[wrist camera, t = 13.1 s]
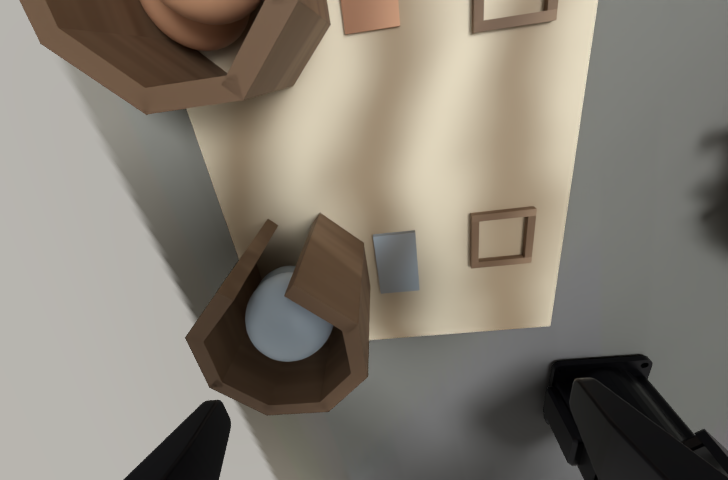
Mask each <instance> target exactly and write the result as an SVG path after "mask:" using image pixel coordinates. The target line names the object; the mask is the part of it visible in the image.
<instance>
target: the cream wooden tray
mask: <svg viewBox="0 0 728 480" xmlns="http://www.w3.org/2000/svg"><path fill="white" fill-rule="evenodd" d="M20 2H21V4H22V6H23V8H24V10H25V12H26V15H27V16H28V19H29V21H30V23H31V25H32V27H33V29H34V31H35V33H36V35H37V37H38V39H39V41H40V44H42V45H43V46H45V47H46V48H48V49H49V50H51V51H52V52H54V53H55V54H57V55H58V56H60V57H61V58H63V59H64V60H66V61H67V62H69V63H70V64H72V65H73V66H75V67H76V68H78V69H79V70H81V71H82V72H84V73H85V74H87V75H88V76H90V77H91V78H92V79H94V80H95V81H97V82H98V83H100V84H101V85H103V86H104V87H106V88H107V89H109V90H110V91H112V92H113V93H115V94H116V95H118V96H119V97H121V98H122V99H124V100H125V101H127V102H128V103H130V104H131V105H133V106H134V107H136V108H137V109H139V110H140V111H142V112H143V113H145V114H146V115H148V114H152V113H159V112H166V111H173V110H180V109H187V112H188V115H189V117H190V120H191V123H192V126H193V129H194V132H195V135H196V138H197V140H198V143H199V146H200V149H201V152H202V155H203V158H204V161H205V163H206V166H207V169H208V172H209V175H210V178H211V181H212V183H213V186H214V189H215V192H216V195H217V198H218V201H219V204H220V206H221V209H222V212H223V215H224V218H225V221H226V224H227V227H228V229H229V232H230V235H231V238H232V241H233V244H234V247H235V249H236V252H237V255H238V258H239V261H238V262H237V263H236V265H235V266H234V268H233V269H232V271H231V272H230V274H229V275H228V276H227V278H226V279H225V281H224V282H223V284H222V285H221V287H220V288H219V289H218V291H217V292H216V294H215V295H214V297H213V298H212V300H211V301H210V302H209V304H208V305H207V307H206V308H205V310H204V311H203V313H202V314H201V315H200V317H199V318H198V320H197V321H196V323H195V324H194V326H193V327H192V328H191V330H190V332H189V333H188V334H187V336H186V337H185V339H186V341H187V342H188V345H189V347H190V349H191V351H192V353H193V355H194V357H195V359H196V361H197V363H198V365H199V367H200V369H201V371H202V373H203V375H204V377H205V379H206V381H207V383H208V385H209V388H211V389H213V390H216V391H218V392H220V393H222V394H224V395H226V396H228V397H230V398H232V399H234V400H236V401H238V402H240V403H242V404H244V405H246V406H249V407H251V408H253V409H255V410H257V411H259V412H261V413H263V414H265V415H281V414H298V413H315V412H329V411H330V410H331V409H332V408H333V407H335V406H336V405H337V404H338V403H339V402H340V401H341V400H342V399H344V398H345V397H346V396H347V395H348V394H349V393H350V392H351V391H353V390H354V389H355V388H356V387H357V386H358V385H359V384H360V383H362V382H363V381H364V380H365V379H366V378H367V377H368V358H369V340H376V339H389V338H402V337H415V336H428V335H441V334H454V333H467V332H480V331H493V330H506V329H519V328H531V327H544V326H550V324H551V317H552V311H553V304H554V297H555V290H556V283H557V277H558V270H559V263H560V256H561V249H562V243H563V236H564V229H565V222H566V215H567V208H568V202H569V195H570V188H571V181H572V174H573V168H574V161H575V154H576V147H577V140H578V134H579V127H580V120H581V113H582V106H583V100H584V93H585V86H586V79H587V72H588V66H589V59H590V52H591V45H592V38H593V31H594V25H595V18H596V11H597V4H598V0H262V1H261V3H260V4H259V5H258V6H257V8H256V9H255V10H254V11H252V12H251V13H250V16H249V20H248V23H247V25H246V27H245V29H244V31H243V32H242V34H241V35H240V37H239V38H238V39H237V40H236V41H234V42H233V43H232V44H230V45H229V46H227V47H224V48H222V49H219V50H212V51H201V50H195V49H191V48H188V47H186V46H183V45H181V44H179V43H177V42H176V41H174V40H172V39H171V38H169V37H168V36H167V35H166V34H164V33H163V32H162V31H161V30H160V29H159V28H158V27H157V26H156V25H155V24H154V23H153V21H152V20H151V19H150V17H149V16H148V15H147V13H146V12H145V10H144V8H143V6H142V4H141V2H140V0H20ZM283 266H296V267H295V269H294V272H293V274H292V277H291V279H290V282H289V284H288V287H287V290H286V292H285V295H284V296H285V297H286V298H288V299H290V300H291V301H293V302H295V303H296V304H298V305H300V306H301V307H303V308H305V309H306V310H308V311H310V312H312V313H313V314H315V315H317V316H318V317H320V318H322V319H323V320H325V321H327V322H328V323H330V324H332V325H333V328H332V331H331V334H330V336H329V338H328V339H327V341H326V342H325V344H324V345H323V346H322V347H321V348H320V349H319V350H318V351H317V352H315V353H314V354H312V355H311V356H309V357H307V358H304V359H302V360H298V361H292V362H284V361H277V360H274V359H271V358H269V357H267V356H265V355H264V354H262V353H261V352H260V351H259V350H258V349H257V348H256V347H255V346H254V345H253V343H252V342H251V340H250V338H249V336H248V333H247V330H246V324H245V313H246V308H247V304H248V302H249V299H250V297H251V296H252V294H253V292H254V291H255V290H256V289H257V287H258V285H259V284H260V282H261V281H262V279H263V278H264V277H265V276H266V275H267V274H268V273H270V272H271V271H273V270H275V269H277V268H280V267H283Z"/></svg>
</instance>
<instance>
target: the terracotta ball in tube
mask: <svg viewBox="0 0 728 480" xmlns="http://www.w3.org/2000/svg"><path fill="white" fill-rule="evenodd" d="M140 2H141V4H142V6H143V8H144V10H145V12H146V13H147V15H148V16H149V17H150V19H151V20H152V21H153V23H154V24H155V25H156V26H157V27H158V28H159V29H160V30H161V31H162V32H163V33H164V34H166V35H167V36H168V37H169V38H171V39H172V40H174V41H176V42H177V43H179V44H181V45H183V46H186V47H188V48H191V49H195V50H201V51H212V50H219V49H222V48H224V47H227V46H229V45H230V44H232V43H233V42H234V41H236V40H237V39H238V38H239V37H240V35H241V34H242V32H243V31H244V29H245V27H246V25H247V23H248V20H249V16H250V14H249V15H248V16H246V17H244V18H243V19H241V20H238V21H235V22H232V23H229V24H223V25H211V24H204V23H200V22H197V21H193V20H190V19H188V18H186V17H184V16H182V15H180V14H178V13H176V12H175V11H173V10H172V9H170V8H169V7H167V6H166V5H165V4H164V3H162V2H161V1H160V0H140Z"/></svg>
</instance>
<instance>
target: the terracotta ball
mask: <svg viewBox="0 0 728 480" xmlns="http://www.w3.org/2000/svg"><path fill="white" fill-rule="evenodd" d="M160 1H161V2H162V3H164V4H165V5H166V6H167V7H169V8H170V9H172V10H173V11H175V12H176V13H178V14H180V15H182V16H184V17H186V18H188V19H190V20H193V21H197V22H200V23H204V24H211V25H223V24H229V23H232V22H235V21H238V20H241V19H243V18H244V17H246V16H248V15H249V14H250V13H251V12H252V11H254V10H255V9H256V8H257V6H258V5H259V4H260V3H261V1H262V0H160Z"/></svg>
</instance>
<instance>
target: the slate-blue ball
mask: <svg viewBox="0 0 728 480" xmlns="http://www.w3.org/2000/svg"><path fill="white" fill-rule="evenodd" d="M292 274H293V272H286V273H281V274H277V275H275V276H272V277H270V278H269V279H267V280H265V281H264V282H263V283H262V284H260V285H259V286H258V287H257V289H256V290H255V291H254V292H253V294H252V296H251V297H250V299H249V302H248V304H247V308H246V313H245V324H246V330H247V333H248V336H249V338H250V340H251V342H252V343H253V345H254V346H255V347H256V348H257V349H258V350H259V351H260V352H261V353H262V354H264V355H265V356H267V357H269V358H271V359H274V360H277V361H284V362H292V361H298V360H302V359H304V358H307V357H309V356H311V355H312V354H314V353H315V352H317V351H318V350H319V349H320V348H321V347H322V346H323V345H324V344H325V342H326V341H327V339H328V338H329V336H330V334H331V331H332V328H333V325H332V324H330V323H328V322H327V321H325V320H323V319H322V318H320V317H318V316H317V315H315V314H313V313H312V312H310V311H308V310H306V309H305V308H303V307H301V306H300V305H298V304H296V303H295V302H293V301H291V300H290V299H288V298H286V297H285V296H284V295H285V292H286V290H287V287H288V284H289V282H290V279H291V277H292Z"/></svg>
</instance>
